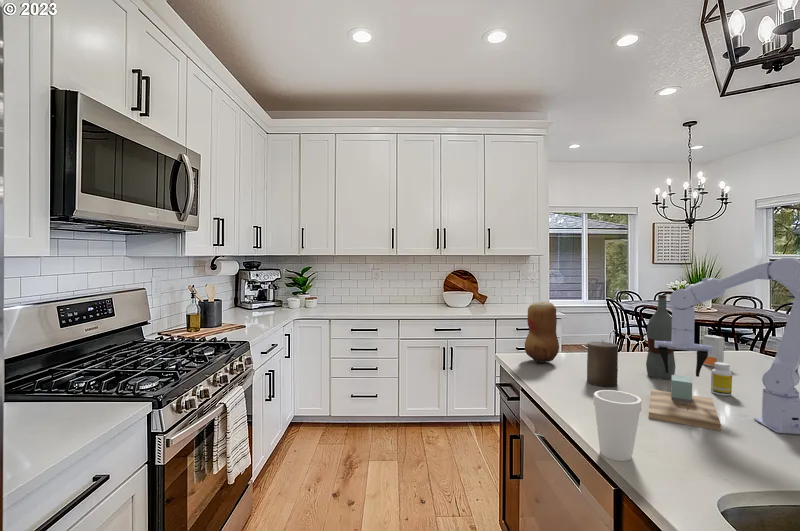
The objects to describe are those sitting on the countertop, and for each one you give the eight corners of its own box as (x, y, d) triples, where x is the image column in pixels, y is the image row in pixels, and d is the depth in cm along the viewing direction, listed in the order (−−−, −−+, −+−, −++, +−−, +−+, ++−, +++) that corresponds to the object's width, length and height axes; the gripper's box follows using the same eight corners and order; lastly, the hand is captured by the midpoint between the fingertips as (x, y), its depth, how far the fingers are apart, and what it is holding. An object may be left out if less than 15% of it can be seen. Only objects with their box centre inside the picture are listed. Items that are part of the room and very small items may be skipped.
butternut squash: (518, 359, 184) (519, 300, 183) (545, 357, 188) (546, 299, 187) (538, 367, 171) (539, 304, 170) (566, 365, 175) (567, 303, 174)
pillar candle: (619, 388, 145) (620, 343, 145) (587, 385, 148) (588, 341, 148) (615, 380, 154) (616, 338, 154) (585, 378, 157) (586, 336, 157)
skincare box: (701, 364, 178) (702, 335, 178) (707, 363, 180) (708, 334, 180) (717, 368, 173) (718, 338, 172) (724, 366, 174) (724, 337, 174)
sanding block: (691, 403, 126) (692, 383, 126) (671, 400, 129) (672, 380, 129) (690, 396, 132) (691, 377, 132) (671, 393, 135) (671, 374, 135)
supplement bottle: (735, 396, 137) (736, 366, 137) (715, 395, 138) (716, 365, 138) (725, 391, 143) (726, 362, 142) (707, 390, 144) (708, 361, 144)
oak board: (720, 430, 111) (720, 424, 111) (648, 417, 119) (648, 412, 119) (711, 403, 131) (712, 398, 131) (650, 393, 139) (650, 389, 139)
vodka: (681, 378, 157) (683, 295, 157) (663, 381, 154) (665, 296, 153) (657, 371, 166) (659, 293, 165) (640, 374, 163) (642, 294, 162)
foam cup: (599, 441, 104) (600, 387, 103) (643, 453, 98) (644, 395, 97) (587, 455, 96) (588, 397, 96) (634, 469, 90) (635, 407, 90)
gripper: (654, 328, 131) (653, 373, 131) (713, 333, 123) (712, 380, 124) (655, 325, 137) (654, 368, 137) (711, 329, 129) (710, 375, 130)
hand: (681, 374), depth 131 cm, fingers open, 7 cm apart
